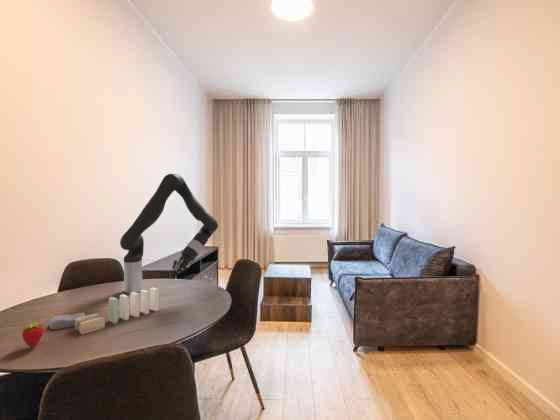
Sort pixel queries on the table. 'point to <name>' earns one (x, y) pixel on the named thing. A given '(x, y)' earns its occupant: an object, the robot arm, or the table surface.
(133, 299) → the domino
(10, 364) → the table surface
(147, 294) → the domino
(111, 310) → the domino
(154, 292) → the domino
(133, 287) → the robot arm
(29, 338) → the strawberry
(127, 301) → the domino
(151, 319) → the table surface
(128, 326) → the table surface
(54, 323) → the stone block
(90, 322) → the stop block
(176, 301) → the table surface
